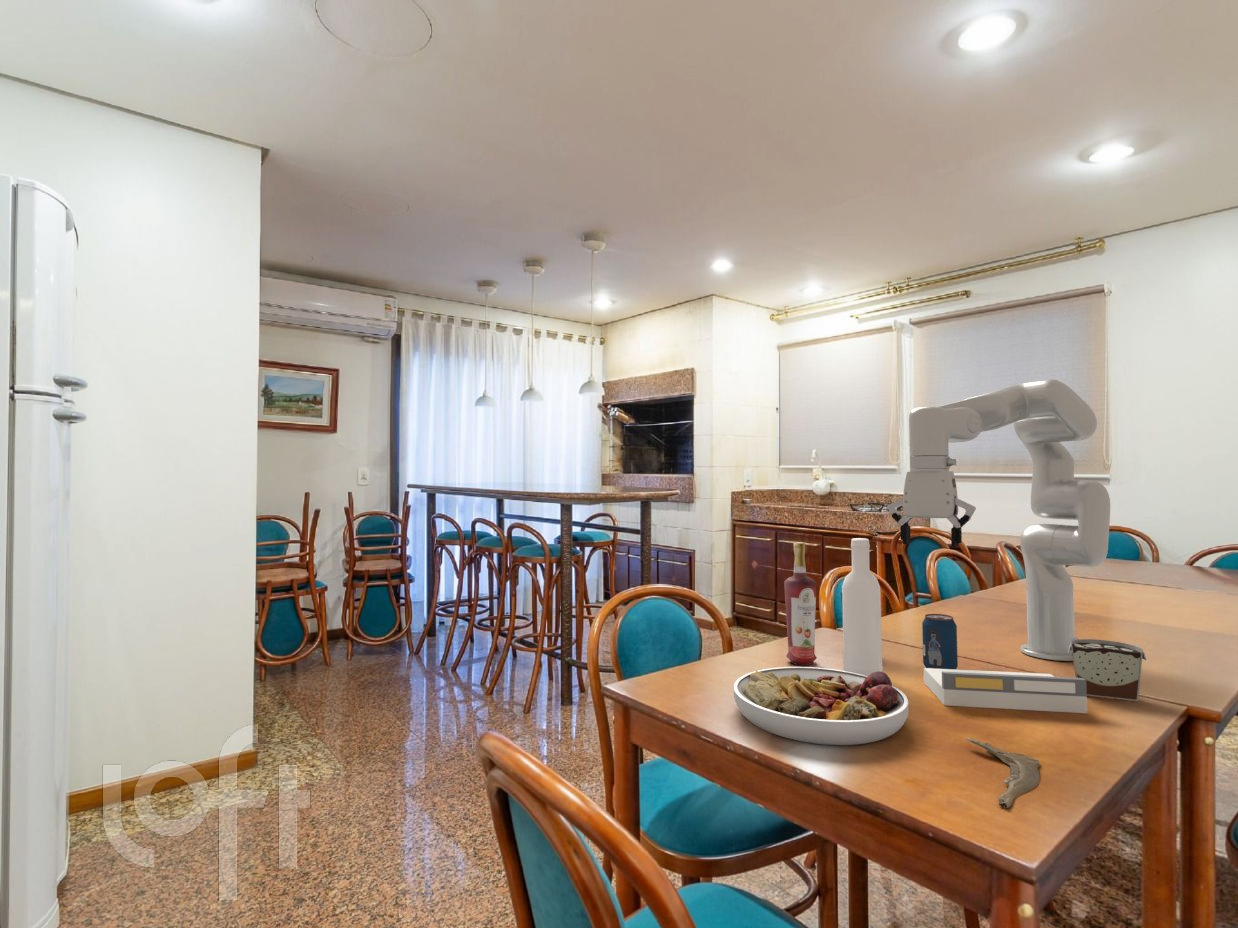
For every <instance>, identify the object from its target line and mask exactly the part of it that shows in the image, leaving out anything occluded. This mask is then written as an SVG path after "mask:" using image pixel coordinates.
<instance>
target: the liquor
mask: <svg viewBox="0 0 1238 928" xmlns="http://www.w3.org/2000/svg"><path fill="white" fill-rule="evenodd" d="M793 553H794V563H793V575H792V576H789V577H788V578H786V579H785V580H784V581H783V584H784V585H783V587H784V600H785V602H784V603H785V614H786V615H785V617H786V629H787V630H786V631H787V654H786V658H787V659H788V660H789V661H790V662H791V663H793V664H795V665H798V666H810V665H811V664H813V663H814V662H815V661H816V659H817V655H816V653H815V646H816V645H815V637H816V636H815V632H816V631H815V630H816V610H817V609H816V606H817V603H816V602H817V581H815V580H814V579H813V578H811V577H809V576H807V569H806V568H807V567H806V560H805V559H806V557H805V556H806V542H793ZM809 664H810V665H809Z"/></svg>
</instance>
